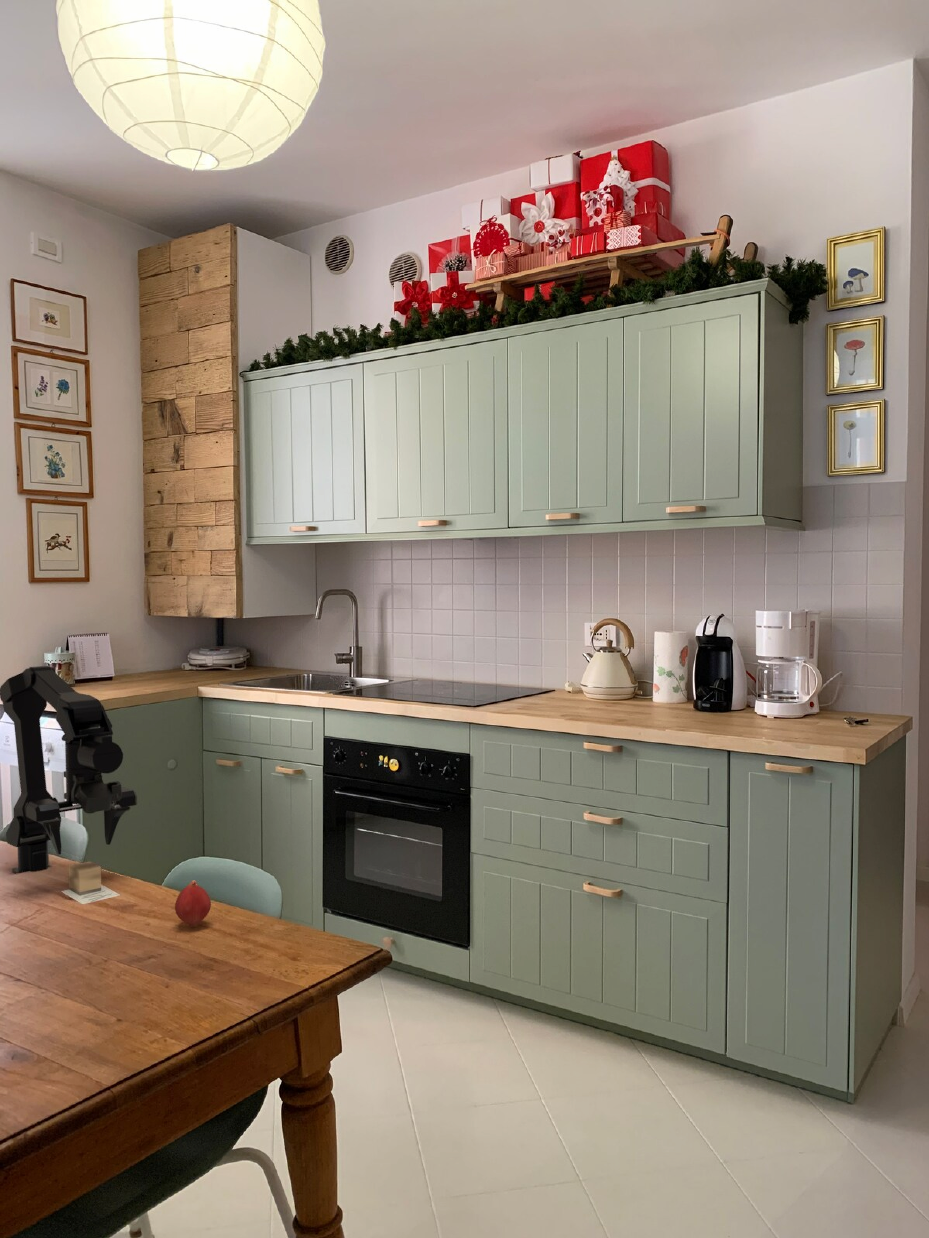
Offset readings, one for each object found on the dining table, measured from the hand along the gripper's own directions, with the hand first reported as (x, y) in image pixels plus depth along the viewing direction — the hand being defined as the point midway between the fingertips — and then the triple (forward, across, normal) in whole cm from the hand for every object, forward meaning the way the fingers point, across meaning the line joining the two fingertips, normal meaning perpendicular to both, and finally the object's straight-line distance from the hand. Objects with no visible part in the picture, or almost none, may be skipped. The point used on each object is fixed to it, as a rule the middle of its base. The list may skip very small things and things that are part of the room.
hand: (84, 849), depth 176 cm
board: (+9, 0, -3) cm, 9 cm away
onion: (+9, +6, -30) cm, 32 cm away
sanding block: (+8, 0, 0) cm, 8 cm away
